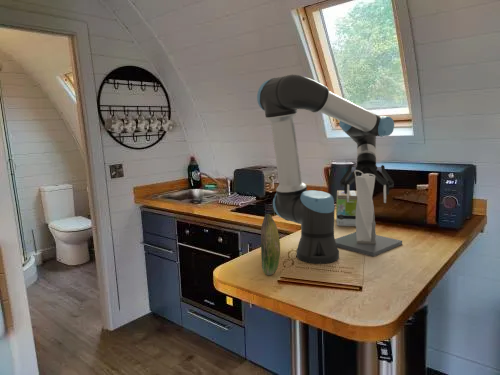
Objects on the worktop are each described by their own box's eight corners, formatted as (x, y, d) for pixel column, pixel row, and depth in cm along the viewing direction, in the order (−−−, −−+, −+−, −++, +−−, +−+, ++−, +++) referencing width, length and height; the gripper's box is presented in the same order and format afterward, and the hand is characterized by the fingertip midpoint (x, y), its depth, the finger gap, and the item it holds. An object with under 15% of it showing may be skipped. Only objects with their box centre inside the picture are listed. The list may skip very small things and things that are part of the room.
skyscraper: (353, 243, 149) (353, 171, 145) (353, 237, 157) (354, 168, 152) (375, 244, 147) (377, 171, 142) (375, 238, 154) (376, 168, 150)
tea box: (358, 226, 178) (359, 195, 176) (336, 226, 180) (336, 195, 178) (356, 218, 193) (357, 189, 191) (336, 218, 195) (336, 189, 193)
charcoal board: (373, 256, 138) (373, 252, 138) (328, 244, 153) (328, 241, 153) (402, 244, 150) (402, 240, 150) (358, 234, 166) (358, 231, 165)
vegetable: (280, 271, 127) (279, 212, 123) (281, 278, 120) (280, 216, 117) (261, 271, 127) (260, 212, 124) (261, 279, 121) (260, 217, 118)
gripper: (397, 163, 158) (400, 206, 147) (335, 163, 165) (333, 205, 153) (399, 151, 152) (402, 195, 141) (335, 152, 159) (332, 194, 148)
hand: (366, 200), depth 147 cm, fingers open, 13 cm apart
